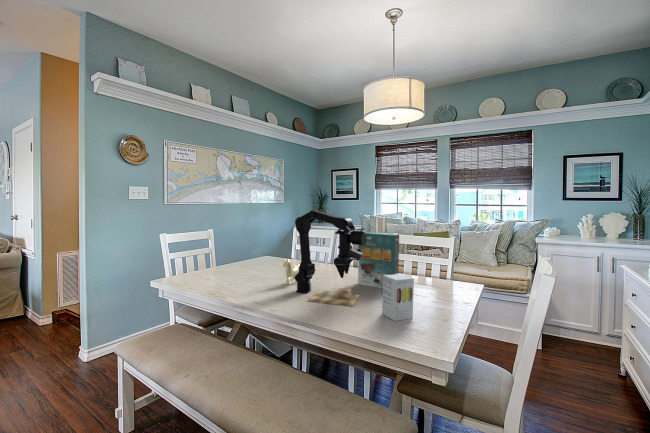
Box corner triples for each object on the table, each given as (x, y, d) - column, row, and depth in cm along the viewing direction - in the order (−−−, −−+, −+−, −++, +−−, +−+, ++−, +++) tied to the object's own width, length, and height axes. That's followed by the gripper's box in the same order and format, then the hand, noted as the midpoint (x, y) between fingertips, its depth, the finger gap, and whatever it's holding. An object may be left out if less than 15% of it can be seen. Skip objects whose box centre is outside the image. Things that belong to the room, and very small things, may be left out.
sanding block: (337, 298, 149) (337, 290, 148) (339, 295, 152) (339, 287, 152) (349, 299, 147) (349, 291, 147) (351, 297, 151) (351, 289, 150)
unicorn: (298, 279, 187) (298, 251, 186) (303, 280, 185) (304, 252, 185) (280, 288, 169) (280, 257, 168) (286, 289, 167) (286, 257, 166)
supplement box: (394, 321, 123) (395, 280, 123) (381, 313, 132) (382, 275, 131) (413, 318, 127) (414, 278, 126) (399, 310, 136) (400, 273, 135)
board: (308, 301, 148) (308, 298, 148) (317, 292, 161) (317, 290, 161) (353, 306, 141) (353, 303, 141) (359, 297, 155) (359, 294, 155)
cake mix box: (398, 287, 172) (399, 234, 171) (394, 290, 167) (395, 235, 166) (362, 281, 184) (363, 231, 183) (358, 284, 179) (358, 232, 178)
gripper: (357, 247, 137) (356, 281, 138) (364, 242, 155) (364, 272, 156) (333, 246, 141) (333, 279, 142) (343, 241, 159) (342, 271, 159)
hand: (344, 275), depth 150 cm, fingers open, 9 cm apart
